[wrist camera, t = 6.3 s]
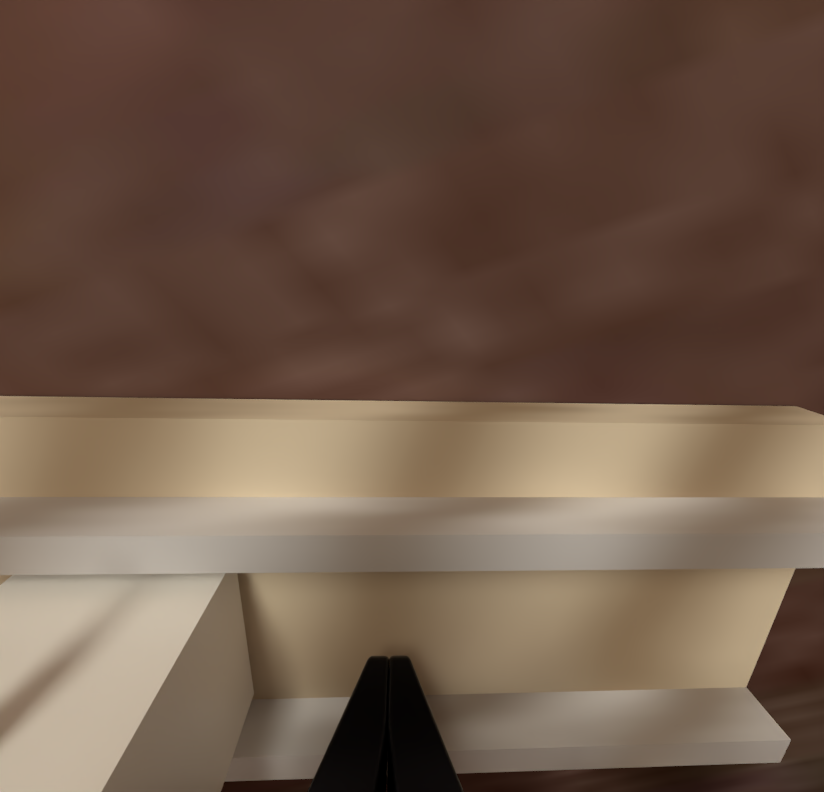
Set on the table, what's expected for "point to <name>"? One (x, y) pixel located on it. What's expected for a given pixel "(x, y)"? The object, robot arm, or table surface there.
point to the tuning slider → (121, 682)
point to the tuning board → (450, 558)
